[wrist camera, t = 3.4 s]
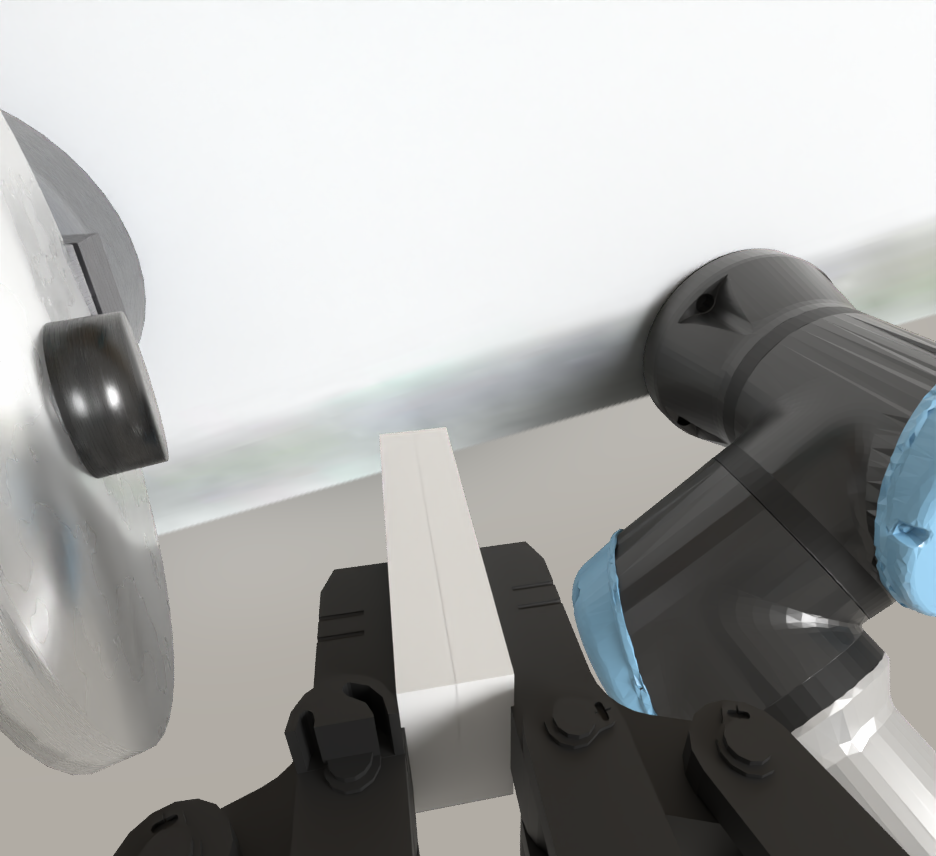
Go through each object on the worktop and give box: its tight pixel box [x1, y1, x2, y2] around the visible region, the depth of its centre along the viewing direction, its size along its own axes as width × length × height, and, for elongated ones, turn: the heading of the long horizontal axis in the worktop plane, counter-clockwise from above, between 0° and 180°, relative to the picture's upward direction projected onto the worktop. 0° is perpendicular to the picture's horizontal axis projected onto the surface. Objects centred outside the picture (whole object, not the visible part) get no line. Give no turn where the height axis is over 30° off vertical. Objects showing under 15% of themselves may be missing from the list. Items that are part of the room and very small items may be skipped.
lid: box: [0, 111, 174, 775], centre depth 19 cm, size 22×21×3 cm
